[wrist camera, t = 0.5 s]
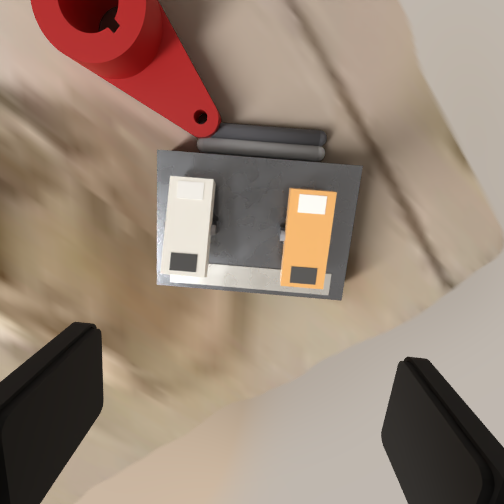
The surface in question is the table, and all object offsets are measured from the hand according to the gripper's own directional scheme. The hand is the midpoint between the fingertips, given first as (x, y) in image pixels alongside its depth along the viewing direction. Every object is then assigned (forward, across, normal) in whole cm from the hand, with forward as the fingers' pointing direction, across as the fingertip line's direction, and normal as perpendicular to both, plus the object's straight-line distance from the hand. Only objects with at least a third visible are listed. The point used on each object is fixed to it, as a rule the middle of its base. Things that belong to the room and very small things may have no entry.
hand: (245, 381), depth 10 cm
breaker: (+21, +6, 0) cm, 22 cm away
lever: (+28, +12, -15) cm, 34 cm away
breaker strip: (+28, 0, 0) cm, 28 cm away
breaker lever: (+21, -4, 0) cm, 21 cm away
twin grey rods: (+28, +1, -10) cm, 29 cm away
